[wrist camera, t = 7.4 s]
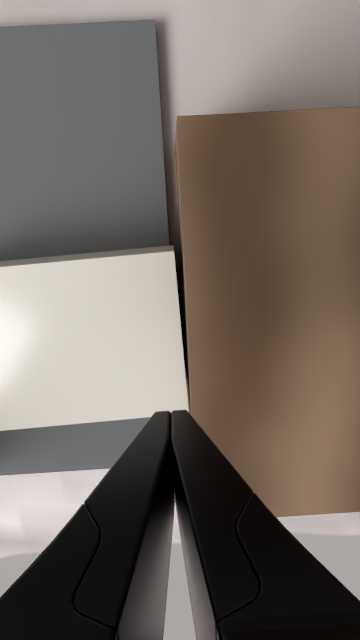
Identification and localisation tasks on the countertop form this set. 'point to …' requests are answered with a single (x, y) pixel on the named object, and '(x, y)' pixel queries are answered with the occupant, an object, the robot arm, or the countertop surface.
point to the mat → (78, 182)
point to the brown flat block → (275, 298)
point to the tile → (90, 338)
